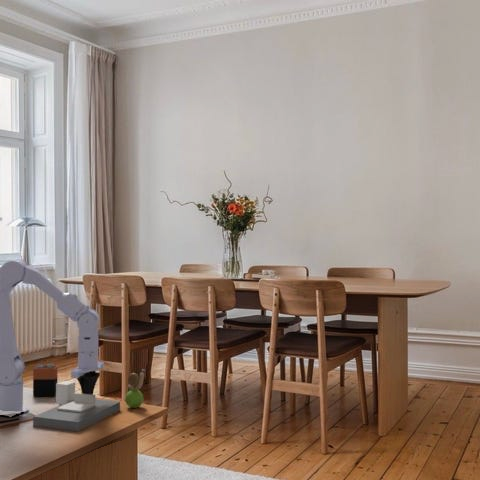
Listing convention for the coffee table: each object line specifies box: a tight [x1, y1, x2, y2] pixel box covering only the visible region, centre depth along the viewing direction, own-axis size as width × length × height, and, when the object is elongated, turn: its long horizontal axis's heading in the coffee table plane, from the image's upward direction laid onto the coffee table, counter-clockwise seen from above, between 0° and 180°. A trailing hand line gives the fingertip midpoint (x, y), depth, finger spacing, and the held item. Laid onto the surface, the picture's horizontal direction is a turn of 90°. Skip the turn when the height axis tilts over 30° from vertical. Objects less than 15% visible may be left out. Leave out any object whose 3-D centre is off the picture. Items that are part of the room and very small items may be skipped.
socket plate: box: [32, 398, 121, 432], centre depth 179 cm, size 14×22×2 cm, turn 161°
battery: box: [32, 363, 58, 398], centre depth 204 cm, size 4×7×10 cm, turn 93°
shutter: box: [57, 392, 96, 413], centre depth 180 cm, size 8×9×3 cm
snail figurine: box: [124, 368, 146, 409], centre depth 190 cm, size 5×6×12 cm
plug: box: [55, 380, 76, 406], centre depth 192 cm, size 4×4×7 cm
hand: (87, 398), depth 185 cm, fingers closed
